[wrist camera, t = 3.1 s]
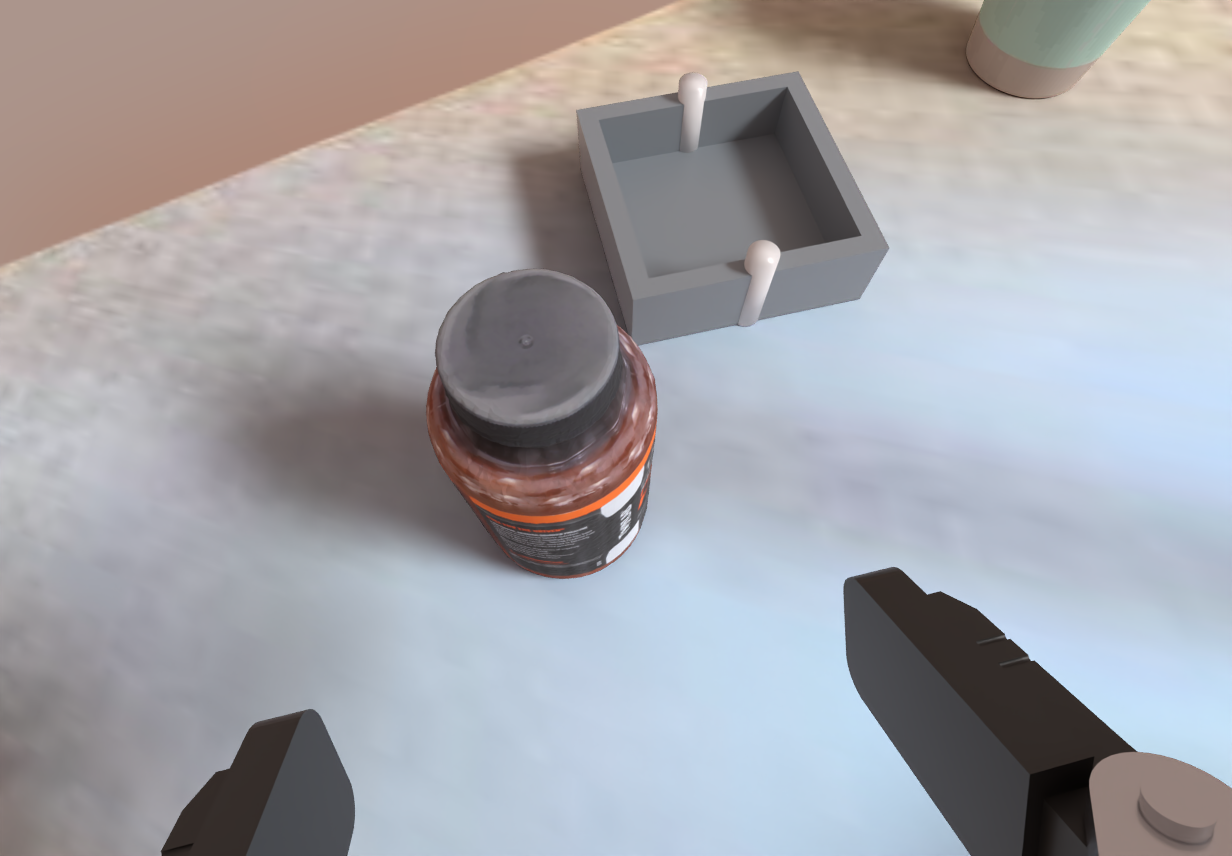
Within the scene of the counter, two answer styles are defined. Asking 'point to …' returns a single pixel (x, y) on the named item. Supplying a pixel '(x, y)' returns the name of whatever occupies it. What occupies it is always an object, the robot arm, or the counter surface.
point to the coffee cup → (1044, 42)
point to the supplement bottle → (545, 420)
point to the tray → (724, 206)
